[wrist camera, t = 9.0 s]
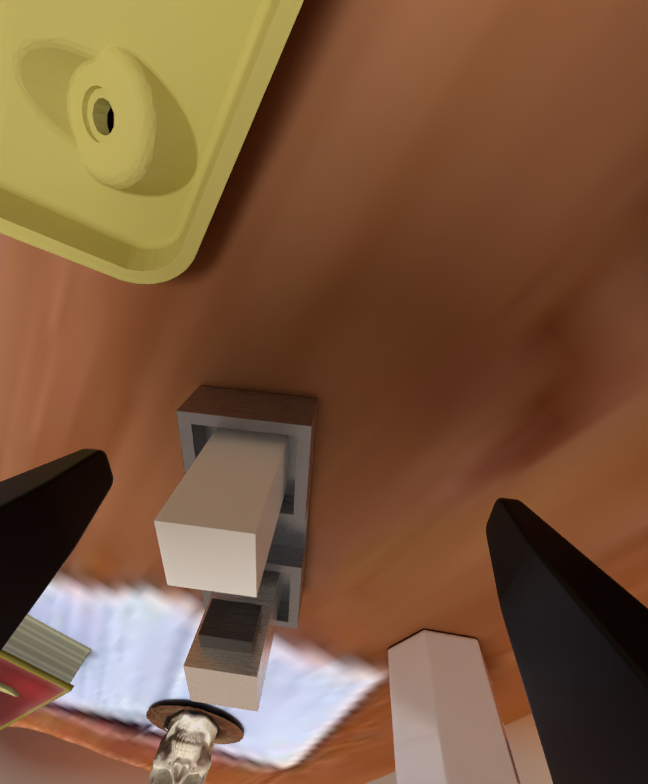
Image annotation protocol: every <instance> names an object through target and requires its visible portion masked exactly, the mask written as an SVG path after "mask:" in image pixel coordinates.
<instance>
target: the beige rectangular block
mask: <svg viewBox="0 0 648 784" xmlns="http://www.w3.org/2000/svg"><path fill="white" fill-rule="evenodd" d="M288 440H289V435H282V434H273V433H265V432H256V431H247V430H239V429H230V428H222V427H217V428H216V430H215V431H214V433H213V434H212V436H211V437H210V439H209V440H208V442H207V443H206V445H205V446H204V448H203V449H202V450H201V452H200V453H199V455H198V456H197V458H196V459H195V461H194V462H193V464H192V465H191V467H190V468H189V470H188V471H187V473H186V474H185V476H184V477H183V479H182V480H181V481H180V483H179V484H178V486H177V487H176V489H175V490H174V492H173V493H172V495H171V496H170V498H169V499H168V501H167V502H166V504H165V505H164V507H163V508H162V509H161V511H160V512H159V514H158V515H157V517H156V518H155V520H154V523H155V528H156V532H157V537H158V542H159V547H160V551H161V556H162V561H163V566H164V570H165V575H166V580H167V585H171V586H179V587H186V588H193V589H200V590H207V591H214V592H221V593H228V594H235V595H242V596H249V597H257V594H258V591H259V587H260V583H261V579H262V576H263V572H264V568H265V565H266V561H267V557H268V553H269V550H270V546H271V542H272V539H273V535H274V531H275V528H276V524H277V520H278V516H279V513H280V509H281V505H282V502H283V498H284V494H285V490H286V487H287V466H288Z"/></svg>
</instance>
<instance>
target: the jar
mask: <svg viewBox="0 0 648 784" xmlns="http://www.w3.org/2000/svg"><path fill="white" fill-rule="evenodd" d="M388 663H389V678H390V693H391V708H392V723H393V738H394V753H395V768H396V782H397V784H521V783H520V780H519V776H518V773H517V769H516V766H515V763H514V759H513V755H512V752H511V748H510V745H509V741H508V738H507V735H506V731H505V727H504V724H503V720H502V717H501V713H500V710H499V706H498V703H497V699H496V696H495V692H494V689H493V685H492V682H491V678H490V675H489V671H488V668H487V665H486V663H485V660H484V657H483V654H482V652H481V649H480V646H479V643H478V641H477V640H476V639H474V638H469V637H463V636H458V635H452V634H446V633H440V632H435V631H429V630H423V631H421V632H419V633H417V634H415V635H413V636H412V637H410V638H408V639H406V640H404V641H402V642H401V643H399V644H397V645H395V646H393V647H391V648H389V650H388Z"/></svg>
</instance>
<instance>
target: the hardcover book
mask: <svg viewBox="0 0 648 784" xmlns="http://www.w3.org/2000/svg"><path fill="white" fill-rule="evenodd" d="M90 650H91V649H90V648H88V647H86V646H84V645H82V644H81V643H79V642H77V641H75V640H73V639H71V638H69V637H68V636H66V635H64V634H62V633H60V632H58V631H57V630H55V629H53V628H51V627H49V626H47V625H46V624H44V623H42V622H40V621H38V620H36V619H34V618H33V617H31V616H29V615H26V617H25V618H24V619H23V621H22V622H21V624H20V625H19V626H18V628H17V629H16V631H15V632H14V633H13V635H12V636H11V638H10V639H9V640H8V642H7V643H6V644H5V646H4V647H3V649H2V650H1V651H0V730H1V729H3V728H5V727H7V726H9V725H11V724H12V723H14V722H16V721H18V720H20V719H21V718H23V717H25V716H27V715H28V714H30V713H32V712H34V711H36V710H37V709H39V708H41V707H43V706H45V705H46V704H48V703H50V702H52V701H54V700H55V699H57V698H59V697H61V696H63V695H64V694H66V693H68V692H70V691H71V690H72V688H73V687H74V686H73V685H71V684H70V682H71V681H72V679H73V678H74V676H75V674H76V673H77V671H78V670H79V668H80V666H81V665H82V663H83V662H84V660H85V658H86V657H87V655H88V654H89V652H90Z"/></svg>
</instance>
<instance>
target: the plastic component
mask: <svg viewBox="0 0 648 784" xmlns="http://www.w3.org/2000/svg"><path fill="white" fill-rule="evenodd" d="M303 1H304V0H0V233H2V234H4V235H7V236H10V237H12V238H15V239H17V240H20V241H22V242H25V243H27V244H30V245H33V246H35V247H38V248H40V249H43V250H45V251H48V252H50V253H53V254H56V255H58V256H61V257H63V258H66V259H68V260H71V261H73V262H76V263H79V264H81V265H84V266H86V267H89V268H91V269H94V270H96V271H99V272H101V273H104V274H107V275H109V276H112V277H114V278H117V279H119V280H122V281H127V282H131V283H136V284H156V283H160V282H165V281H168V280H170V279H173V278H175V277H177V276H179V275H180V274H181V273H182V272H184V271H185V270H186V269H187V268H188V267H189V265H190V264H191V263H192V261H193V260H194V258H195V256H196V254H197V251H198V249H199V246H200V244H201V242H202V239H203V237H204V235H205V232H206V230H207V228H208V225H209V223H210V220H211V218H212V216H213V213H214V211H215V209H216V206H217V204H218V202H219V199H220V197H221V194H222V192H223V190H224V187H225V185H226V183H227V180H228V178H229V176H230V173H231V171H232V169H233V166H234V164H235V161H236V159H237V157H238V154H239V152H240V150H241V147H242V145H243V143H244V140H245V138H246V135H247V133H248V131H249V128H250V126H251V124H252V121H253V119H254V117H255V114H256V112H257V110H258V107H259V105H260V102H261V100H262V98H263V95H264V93H265V91H266V88H267V86H268V84H269V81H270V79H271V76H272V74H273V72H274V69H275V67H276V65H277V62H278V60H279V58H280V55H281V53H282V50H283V48H284V46H285V43H286V41H287V39H288V36H289V34H290V32H291V29H292V27H293V25H294V22H295V20H296V17H297V15H298V13H299V10H300V8H301V6H302V3H303ZM111 107H112V110H113V112H114V127H113V129H112V131H111V133H110V132H109V129H108V125H107V114H108V112H109V110H110V108H111Z"/></svg>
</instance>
